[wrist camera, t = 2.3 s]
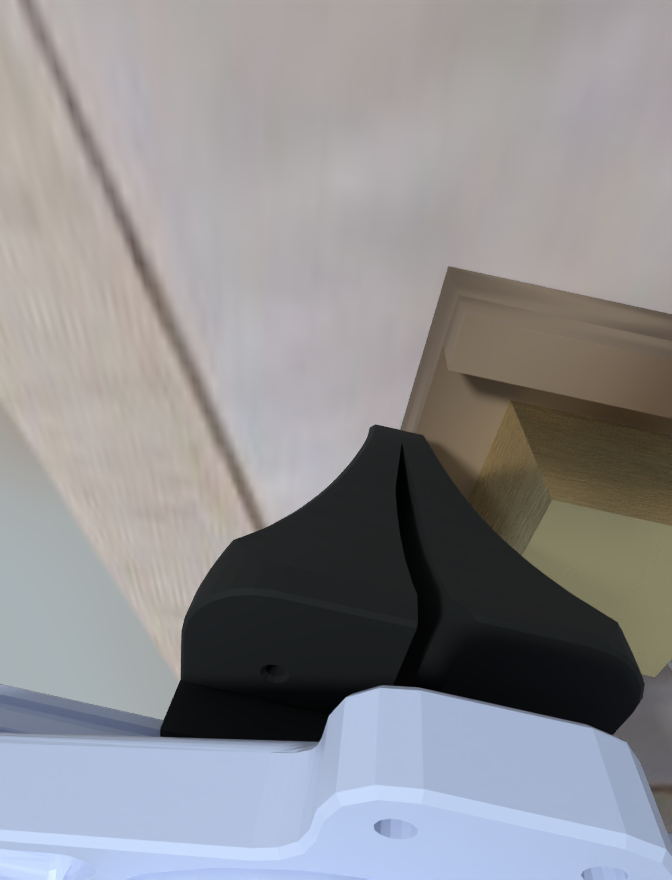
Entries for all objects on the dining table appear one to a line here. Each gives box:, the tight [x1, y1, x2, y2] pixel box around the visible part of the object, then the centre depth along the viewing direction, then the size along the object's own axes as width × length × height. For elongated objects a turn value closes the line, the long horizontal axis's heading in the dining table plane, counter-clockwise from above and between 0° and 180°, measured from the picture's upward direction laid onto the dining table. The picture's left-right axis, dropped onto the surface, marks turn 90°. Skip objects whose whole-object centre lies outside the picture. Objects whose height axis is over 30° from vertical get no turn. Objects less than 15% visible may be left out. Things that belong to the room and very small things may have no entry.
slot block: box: [401, 266, 672, 501], centre depth 14 cm, size 11×8×4 cm
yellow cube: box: [468, 400, 672, 677], centre depth 12 cm, size 4×4×4 cm
